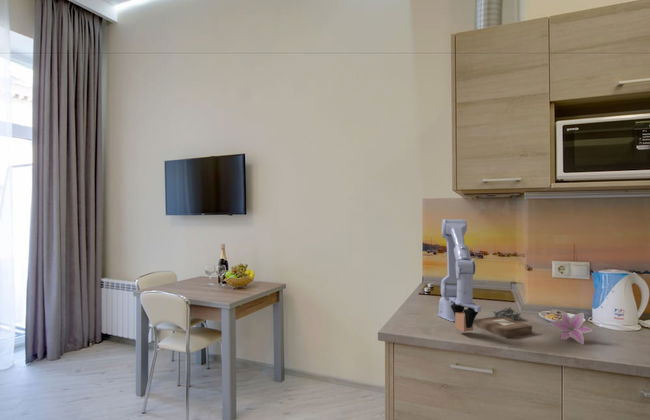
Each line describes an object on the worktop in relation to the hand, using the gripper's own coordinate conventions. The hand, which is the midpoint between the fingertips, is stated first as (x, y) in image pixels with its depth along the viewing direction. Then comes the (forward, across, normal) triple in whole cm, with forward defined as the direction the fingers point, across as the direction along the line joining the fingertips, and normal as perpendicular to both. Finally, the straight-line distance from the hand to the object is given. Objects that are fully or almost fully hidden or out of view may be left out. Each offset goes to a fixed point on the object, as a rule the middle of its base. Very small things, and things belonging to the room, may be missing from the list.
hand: (464, 325), depth 138 cm
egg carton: (+4, -9, +34) cm, 35 cm away
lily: (+4, +19, +35) cm, 40 cm away
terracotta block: (+2, 0, 0) cm, 2 cm away
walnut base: (+3, +2, +19) cm, 19 cm away
